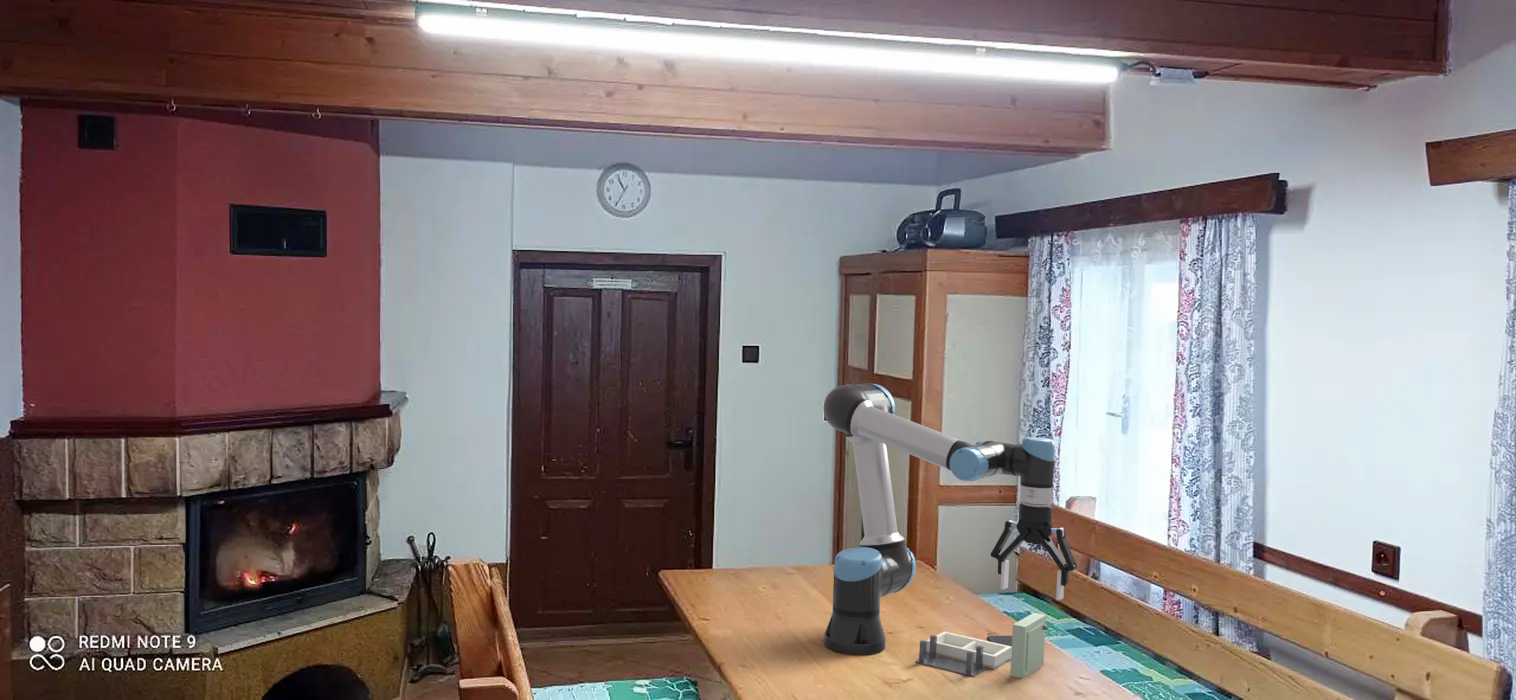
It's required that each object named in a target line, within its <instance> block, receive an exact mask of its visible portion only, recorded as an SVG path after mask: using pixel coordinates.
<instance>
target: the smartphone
mask: <svg viewBox="0 0 1516 700" xmlns="http://www.w3.org/2000/svg"><path fill="white" fill-rule="evenodd" d="M986 639H987V641H989V642H993V643H998V644H1002V645H1007V646H1011V647H1012V635H987V637H986Z"/></svg>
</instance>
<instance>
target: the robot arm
mask: <svg viewBox="0 0 1516 700" xmlns="http://www.w3.org/2000/svg"><path fill="white" fill-rule="evenodd" d="M895 413H896V404H895V400H894V398H893V396H892V394H891V392H890V391H889V390H887V388H885V387H884V386H882V385H880V384H876V383H869V382H868V383H867V382H864V383H856V384H845V385H839V386H837V387H834V388H833V389H832V390H831V391H830V392H828V393H827V395H826V397H825V398H824V401H823V415H824V417H825V420H826V422H827V423H828V424H829V425H830V426H831V427H832V428H834V429H835V430H837V431H838V432H842V433H844V434H845V439H846V440H848V441H849V442H850V443H851V444H852V449H853V454H854V455H853V456H854V462H855V470H856V471H855V472H856V479H857V487H858V496H859V501H860V510H861V518H862V527H863V534H864V536H863V538H862V539H861V541H860V542H859V546H857V547H855V548H854V547H849V548H846V549H843V550H841V551H839V552H838V553H837V554H836V556H835V557H834V558H835V559H834V564H833V565H834V566H833V569H832V570H833V589H832V590H833V591H832V593H833V594H832V613H831V616H830V618H829V621H828V624H827V627H826V630H825V633H824V637H823V644H824V646H825V647H826V648H827V649H829V650H830V651H831V650H832V651H834V652H837V653H840V654H842V653H843V654H846V655H847V654H848V655H859V656H860V655H861V656H862V655H865V656H866V655H872V654H877V653H880V652H883V651H885V649H886V636H885V633H884V628H883V624H882V622H881V616H880V611H881V610H880V609H881V598H882V597H885V596H888V595H890V594H896V593H898V592H901V591H902V590H903V589H905V588H906V587H908V586H909V585H910V584H911V583H912V581H913V580H914V578H915V575H916V571H917V562H916V557H915V555H914V554H913V552H912V551H910V549H909V547H907V546H906V539H905V537H904V536H902V535H901V534H900V533H899V532H898V523H897V517H896V509H895V503H894V495H893V487H892V480H891V479H892V478H891V471H890V470H891V469H890V464H889V456H888V455H889V454H888V449H887V447H891V448H892V449H896V450H898V451H901V452H902V453H905V454H907V455H911V456H913V457H915V458H918V459H920V460H923V461H926V462H928V463H931V464H933V465H936V466H938V467H940V468H943V469H946V470H948V471H950V472H951V473H952V474H953V476H955V478H956V479H958V480H960V481H965V482H966V481H969V482H970V481H971V482H974V481H977V480H978V481H979V480H980V479H983V478H987V477H992V476H996V475H1006V476H1013V477H1019V478H1020V480H1019V481H1020V482H1019V483H1020V484H1019V485H1020V487H1019V501H1020V502H1021V503H1020V504H1018V505H1019V506H1018V522H1017V521H1014V520H1013V519H1009V520H1007V521H1005V523H1004V528H1003V531H1002V532H1001V535H1000V537H999V538H998V540H997V542H996V544H995V546H994V547H993V549H992V551H991V552H990V557H991V558H995V559H996V560H997V563H998V564H997V573H998V575H1000V590H1002V591H1003V590H1005V589H1008V588H1009V571H1010V560H1008V559H1007V558H1008V557H1009V556H1010V555H1011V554H1012V553H1013V552H1015V550H1016V549H1017V548H1018V547H1020V546H1021V544H1022V543H1024V542H1025V543H1026V544H1034V545H1039V546H1040V545H1042V547H1043V548H1045V550H1046V551H1047V552H1048V554H1049V555H1050V557H1051V558H1052V561H1054V563H1055V564H1056V566H1057V567H1058V568H1059V570H1058V571H1057V572H1056V573H1057V574H1056V575H1057V576H1056V577H1057V578H1056V595H1055V597H1056V599H1055V600H1056V601H1061V600H1063V599H1064V595H1065V593H1064V592H1065V586H1067V585H1068V584H1069V573H1070V572H1072V571H1075V570H1077V569H1078V565H1077V562H1076V560H1075V558H1074V554H1073V552H1072V550H1071V548H1070V545H1069V543H1068V540H1067V537H1066V528H1065V527H1062V526H1061V527H1060V528H1059V527H1058V528H1056V527H1054V528H1053V525H1052V518H1053V506H1052V504H1053V502H1054V501H1053V500H1054V497H1053V496H1054V474H1055V473H1054V472H1055V461H1056V456H1055V452H1056V451H1055V442H1054V440H1052V439H1051V438H1047V437H1035V436H1027V437H1024V438H1022V441H1021V444H1014V443H1009V442H1008V443H1007V442H1001V441H999V442H998V441H994V440H978V441H976V442H975V444H972V443H970V442H969V443H968V442H966V441H963V440H961V439H959V438H956V437H954V436H951V435H948V434H946V433H943V432H940V431H938V430H936V429H932V428H930V427H927V426H925V425H922V424H920V423H918V422H914V421H912V420H910V419H907V418H905V417H901V416H899V415H896V414H895ZM1015 530H1017V531H1018V533H1019V534H1018V536H1016V538H1015V539H1014V540H1013V541H1012V542H1011V543H1010V544H1009V545H1008V546H1007V547H1006V548H1005V549H1004V550H1003V548H1004V546H1005V545H1006V543H1007V541H1008V540H1009V538H1010V536H1011V534H1012V532H1013V531H1015ZM1052 535H1053V536H1054V537H1055V538H1056V540H1057V545H1058V546H1059V548H1060V551H1061V553H1060V551H1059V550H1058V548H1057V547H1056V546H1055V544H1054V541H1053V540H1052V538H1051V536H1052ZM1062 555H1063V556H1062Z"/></svg>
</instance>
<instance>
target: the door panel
mask: <svg viewBox="0 0 1516 700" xmlns="http://www.w3.org/2000/svg"><path fill="white" fill-rule="evenodd" d="M1046 618H1047V615H1046V614H1042V613H1037V612H1033V613H1031V614H1029V615H1027V616H1026V617H1023V618H1022V619H1020V620H1019V621H1017V622H1015V623H1012V633H1011V634H1012V635H1011V636H1012V654H1011V659H1010V660H1011V661H1010V676H1011V677H1016V678H1019V679H1025V678H1026V677H1027V676H1028V675H1030V674H1031V673H1033V672H1034V671H1036V670H1037V669H1039V668H1041V667H1042V666H1043V665H1044V662H1045V661H1044V659H1045V642H1046V639H1045V638H1046V631H1048V629H1049V626H1048V625H1046V623H1047V622H1046V620H1047V619H1046Z"/></svg>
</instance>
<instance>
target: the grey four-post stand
mask: <svg viewBox="0 0 1516 700" xmlns="http://www.w3.org/2000/svg"><path fill="white" fill-rule="evenodd" d="M929 639H930V652H929V653H926V648H927V640H923V639H921V640H920V641H919V656H918V659H917V660H915V661H914V662H915V664H918V665H919V664H920V665H924V666H927V667H931V668H936V669H940V670H943V671H948V672H952V673H956V674H960V675H964V676H967V677H971V678H974V677H976V676H978V675H979V674H981V673H983V672H984V671H986V670H987V667H983V666H982V665H983V646H977V647H976V665H975V664H973V658H974V652H972V651H968V652H967V658H966V662H962V661H958V660H954V659H950V658H946V657H941V656H937V655H936V646H937V636H936V635H935V634H932V635H930V636H929Z"/></svg>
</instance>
